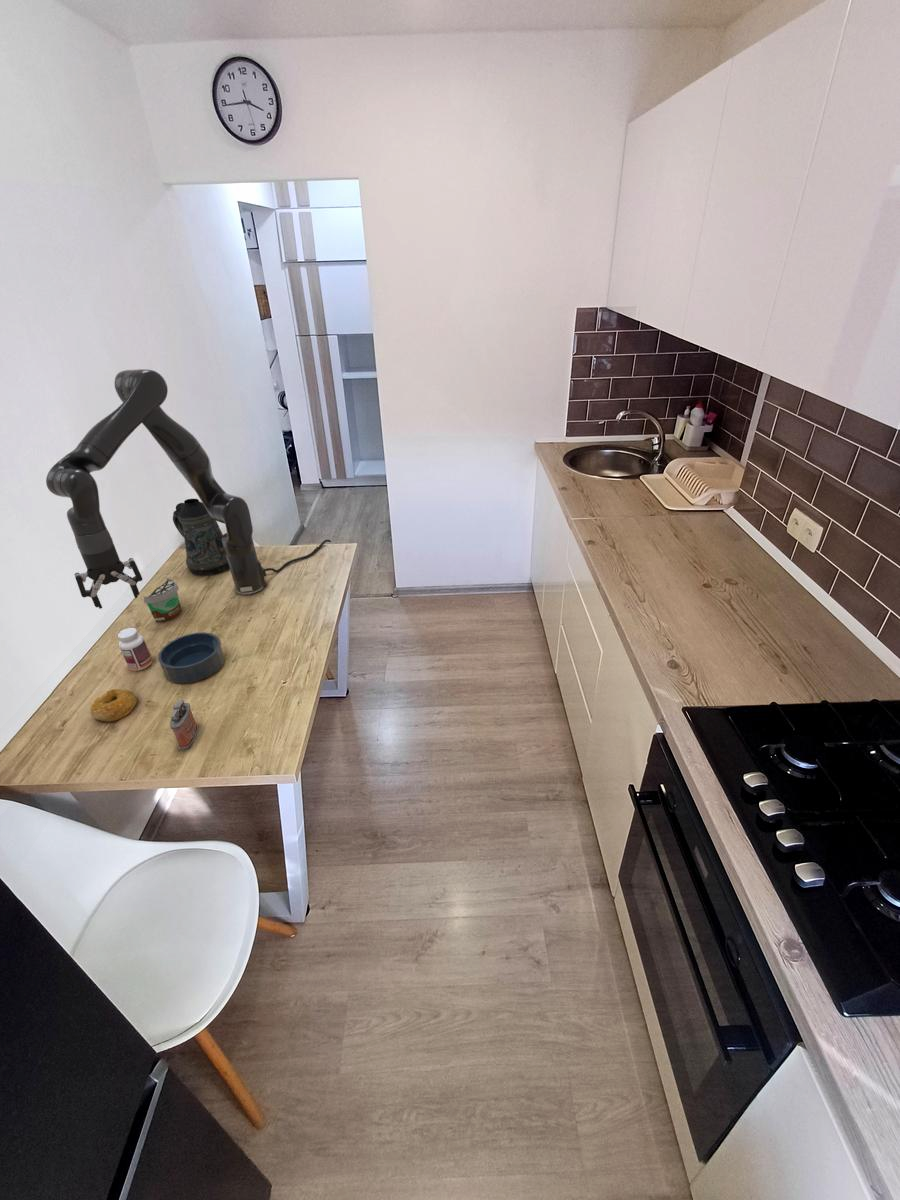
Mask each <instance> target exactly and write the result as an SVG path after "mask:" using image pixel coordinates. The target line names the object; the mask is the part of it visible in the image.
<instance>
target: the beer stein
mask: <svg viewBox="0 0 900 1200" xmlns="http://www.w3.org/2000/svg"><path fill="white" fill-rule="evenodd" d="M172 514H173V515H172V522H173V525H174V527H175V528H176V530H177V532H178V533H179V534H180V535H181V536H182V537H183V539H184V544H185V553H186V554H185V555H186V557H185V558H186V559H185V564H186V567H187V568H188V570H189V572H190V573H191V574H192V575H194V576H199V577H208V576H209V577H210V576H215V575H219V574H222V573H224V572H226V571H228V570H230V567H229V564H228V560H227V557H226V553H225V550H224V546H223V543H222V536H223V535H224V533H223V532H222V530H221V528H220V526H219V522H218V521H216V520H215V519H213V518H212V517H211V516H210V514H209V513H208V511H207V510H206V508H205V506H204V505H203V503H202V501H201V500H200V499H199V498H186V499H184V501H183V502H179V503H177V504H176V506H175V510H174V511H173V512H172Z"/></svg>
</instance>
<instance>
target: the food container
mask: <svg viewBox="0 0 900 1200" xmlns="http://www.w3.org/2000/svg"><path fill="white" fill-rule="evenodd" d="M178 591H179V586H178V584H177V583H176V581H175V580H174V579H172V578H169V577H166V581H165V582H164V583H162V584H161V585H159V586H158V587H156V588H155V589H154V590H153V591H152V592H151V594H150V595H148V596H143V602H144V604H146V605H147V607H148V609H149V611H150V613H151V616H152V618H153V619H154V621H155V623H166V622H169V621H171V620H174V619H176V618H178V617H179V616H180V614H181V613H182V606H181V603H180V599H179V594H178V593H179V592H178Z"/></svg>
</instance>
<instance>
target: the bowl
mask: <svg viewBox="0 0 900 1200" xmlns="http://www.w3.org/2000/svg"><path fill="white" fill-rule="evenodd" d="M157 660H158V663H159V665H160V668H161V670H162V672H163V675H164V677H165V679H166V680H168V681H169V682H172V683H176V684H191V683H194V682H199V681H201V680H204V679H207V678H209V677H210V676H212V675H213V674H215V673H216V672H218V671H219V670H220V669H221V668H222V667H223V664H225V661H226V654H225V651H224V648H223V644H222V641H221V640H220V638H219V636H217V635H215V634H214V633H211V632H206V631H205V632H204V631H203V632H193V633H188V634H184V635H180V636H179V637H177V638H175V639H173V640H171V641H169V642H168V643H167V644H165V645H164V646H163V647H162V648H161V650H160V651H159V653H158V656H157Z"/></svg>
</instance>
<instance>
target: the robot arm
mask: <svg viewBox="0 0 900 1200" xmlns="http://www.w3.org/2000/svg"><path fill="white" fill-rule="evenodd" d="M113 384H114V389H115V392H116V394H117V396H118V398H119V399H120V400H121V402H122V403H121V404H120V405H119V406H118V407H117V408H116V409H115V410H113V411H112V412H111V413H109V414H108V415H106V416H105V417H104V418H102V419H101V420H100V421H98V422H97V423H96V424H95V425H93V426H92V427H91V428H90V429H89V430H88V431H87V433H86V434H85V435H84V437H83V438H82V439H81V440H80V442H79V443H78V444H77V446H76V447H75V448H74V449H73V450H72V451H70V452H69V453H67V454H66V455H65V456H63V457H62V458H61V459H60V460H58V461H57V462H56V463H55V464H53V466H52V467H51V468H50V469H49V471H48V472H47V474H46V478H45V485H46V487H47V489H48V491H49V492H50V493H51V494H53V495H54V496H57V497H61V498H68V499H70V500H71V503H72V507H70V508H69V509H68V510H67V511H66V518H67V521H68V523H69V525H70V528H71V530H72V534H73V536H74V540H75V543H76V546H77V549H78V550H79V553H80V555H81V557H82V560H83V563H84V565H85V568H86V572H82V573H80V572H75V573H74V578H75V580H76V583H77V587H78V589H79V592H80V595H81V597H82V598H87V597H88V598H91V601H92V602H93V605H94V607H95V608H98V610H99V609H103V606H102V603H101V601H100V598H99V596H98V592H99V591H100V589H101V587H102V585H104V586H106V585H109V584H111V583H116V582H119V580H121V581H122V582H124V583H127V584H129V587H130V590H131V592H132V594H133V597H134V599H137V598H138V597H139V595H140V591H139V588H138V585H137V583H139V582H142V581H143V577H142V575H141V572H140V570H139V567H138V565H137V563H136V560H135V559H134V558H133V557H130V558H128V560H126V561H121V559H120V556H119V554H118V552H117V549H116V547H115V544H114V541H113V537H112V536H111V533H110V531H109V530H108V528H107V526H106V523H105V520H104V518H103V515H102V513H101V510H100V509H101V507H100V506H101V505H100V495H99V494H100V493H99V487H98V484H97V482H96V479H95V478H94V476H93V475H92V474H91V473H93V472H99V471H101V470H103V469H104V468H105V467H106V466H107V465H108V464H109V463H110V461H111V460H112V458H113V457H114V456H115V454H116V453H117V452H118V450H119V448H121V446H122V445H123V444H124V442H125V441H126V440H128V438H129V437H130V436H131V434H132V433H133V432H134V431H135V430H136V429H137V428H138V427H140V425H141V424H142V425H143V426H144V427H145V428H146V429H147V431H148V432H149V434H150V435H151V436H152V437H153V439H154V440H155V441H156V443H157V444H158V445H159V447H160V448H161V449H162V450H163V451H164V453H165V454H166V456H167V458H169V460H170V461H171V463H172V464H173V465H174V467H175V468H176V469H177V471H178V472H179V473H180V474H181V475H182V476H183V478H184V479H185V480H186V482H187V483H188V484H189V485H190V487H191V488H192V489H193V491H194V492H195V493H196V494H197V496H198V499H199V501H200V502H201V503H203V505H204V506H205V508H206V510H207V511H208V513H209V514H210V516H211V517H212V518H213V519H215V520H216V521H217V523H221V524H225V530H226V532H225V533H223V536H222V543H223V546H224V550H225V553H226V557H227V560H228V564H229V567H230V568H229V570H230V571H229V572H230V574H231V577H232V581H233V585H234V589H235V593H236V594H238V595H240V596H249V595H255V594H257V593H259V592H261V591H263V589H265V588H267V583H266V579H265V577H267V572H268V571H273V572H274V573H280V572H281V571H283V570H284V569H285V568H286V567H287V566H288V565H290V564H291V563H294V562H297V561H301V560H304V559H308V558H309V557H311V556H313V555H314V554H315V553H316V552H317V551H318V550H319V549H320V548H322V547H323V546H324V545H325V544H326V543H331V542H332V540H331V539H325V540H323V541H322V542H321V543H320V544H319V545H318V546H319V547H318V546H316V547H315V548H314V549H313V550H312V551H311V552H310V553H308V554H306V555H303V556H300V557H297V558H293V559H290V560H289V561H287V562H285V563H284V564H283V565H282V566H281V567H280V568H278V569H275V568H273V567H267V568H264V567H263V566H262V564H261V562H260V560H259V559H258V554H257V551H256V547H255V543H254V539H253V532H254V529H253V528H254V527H253V523H252V517H251V513H250V508H249V506H248V503H247V501H246V500H245V499H244V498H242V497H240V496H237V495H233V494H230V493H227V491H225V489H223V488H222V487H221V485H220V484H219V483H218V481H217V480H216V479H215V477H214V474H213V471H212V470H213V469H212V465H211V463H212V462H211V460H210V457H209V455H208V453H207V451H206V450H205V449H204V448H203V446H202V445H201V443H200V441H199V440H198V438H196V437H195V436H194V434H192V433H191V432H190V431H189V430H188V429H187V428H185V427H184V426H183V425H181V424H180V423H179V422H177V421H176V420H175V419H173V418H172V417H171V416H170V415H168V414H167V412H165V410H164V409H163V408H162V407H161V406H162V405H163V404H164V402H165V401H166V399H167V397H168V392H169V391H168V389H169V388H168V384H167V381H166V380H165V378H164V376H162V374H160V373H159V372H157V371H155V370H153V369H148V368H145V369H144V368H143V369H141V368H137V369H126V370H121V371H119V372H118V373H117V374H116V375H115V377H114V382H113ZM125 567H127V568H128V569H129V570H132V571H133V574H134V576H133V577H132V576H130V575H128V574H127V573H126V572H125V571H124V570H125ZM87 578H88V579H90V580H92V582H91V586H90V589H86V587H85V584H84V583H86V581H87Z"/></svg>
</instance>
